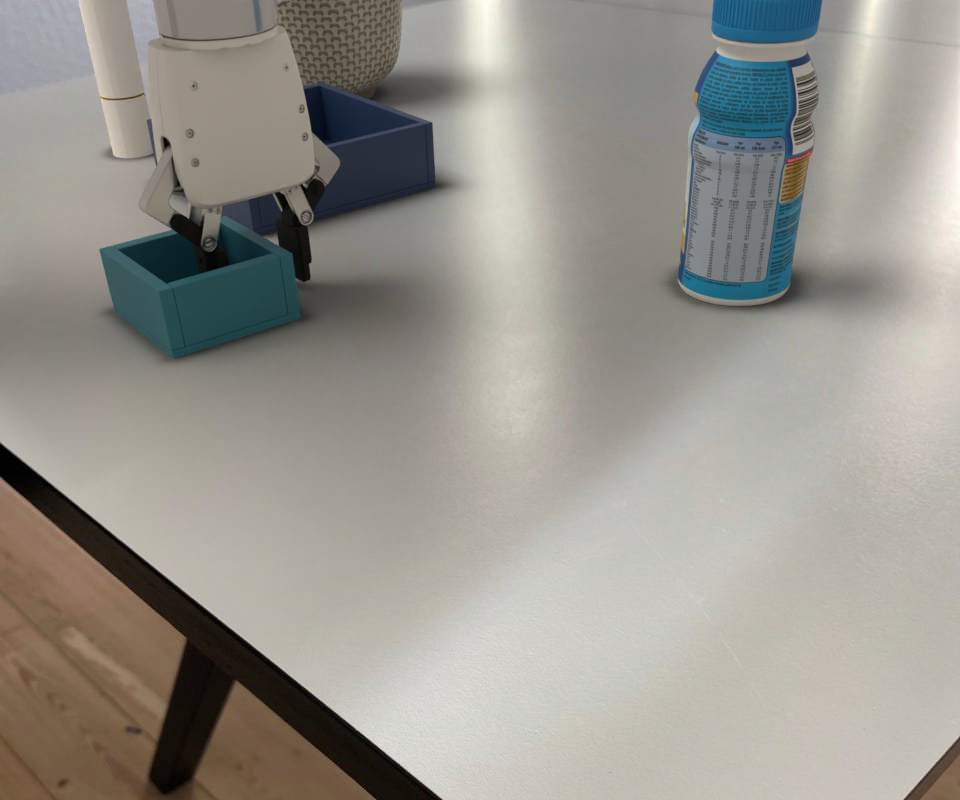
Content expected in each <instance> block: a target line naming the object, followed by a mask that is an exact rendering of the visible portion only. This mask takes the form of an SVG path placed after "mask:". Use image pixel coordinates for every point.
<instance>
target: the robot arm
mask: <svg viewBox="0 0 960 800" xmlns="http://www.w3.org/2000/svg"><path fill="white" fill-rule="evenodd" d="M289 1H290V0H152V5H153V9H154V14H155V20H156V25H157V31H158V36H159V38H154V39H151V40H148V42H147V83H148V84H147V85H148V98H149V112H150V119H151V120H152V129H153V137H154V144H155V151H156V157H157V163H158V164H157V166H156V165H155V169H154V170H153V172H152V174H151V176H150V178H149V180H148V182H147V184H146V186H145V188H144V190H143V192H142V193H141V196H140V197H139V200H138V209H139V210H140V211H141V212H143V213H145V214H146V215H148V216H149V217H151V218H153V219H154V220H156V221H157V222H158V223H159V222H160V224H163V225H164V226H166V227H168V228H169V229H170V230H174V231H175V232H177V233H178V234H180V235H181V236H183V237H184V238H185V239H187V240H188V241H190V242H191V243H193V245H194V250H195V255H196V260H197V265H198V270H199V274H201V273H205V272H209V271H212V270H216V269H219V268H223V267H226V266H229V261H228V255H227V252H226V250H225V249H223V248H222V247H220V246H219V242H218V237H219V230H220V222H221V215H222V207H223V206H225V205H229V204H233V203H237V202H241V201H245V200H249V199H253V198H256V197H260V196H264V195H268V194H273V196H274V198H275V200H276V202H277V204H278V206H279V208H280V210H281V217H277V222H276V229H277V231H276V235H277V242H278V246H280V247H282V248H283V249H285V250H287V251H289V252H291V253H292V256H293V263H294V270H295V278H296V280H298V281H300V282H302V283H305V282H308V281H311V278H312V276H311V268H310V264H312V261H313V257H312V249H311V242H310V241H311V240H310V235H309V225H311V224H312V223H313V222H314V221H313V218H314V215H313V211H314V209H315V208H316V206H317V204H318V203H319V201H320V199H321V197H322V196H323V194H324V192H325V186H326V184H327V185H328V183H329V182H330V180H331V179H332V177H333V176H334V174H335V173H336V171H337V170H338V168H339V166H340V159H339V158H338V157H337V156H336V155H335V154H334V153H333V152H332V151H331V150H330V149H329V148H328V147H327V146H326V145H325V144H324V143H323V142H322V141H321V140H320V139H319V138H318V137H316V136H315V135H314V134H313V133H312V132H311V126H310V119H309V114H308V109H307V104H306V99H305V94H304V90H303V85H302V81H301V77H300V74H299V70H298V66H297V62H296V59H295V56H294V53H293V49H292V46H291V43H290V40H289V37H288V35H287V32H286V29H285V28H284V27H282V26H279V25H277V19H279V16H278V8H277V7H279V6H280V5H281V4H282V3H288V2H289ZM172 195H174V196H182V195H186V198H185V199H186V200H187V205H186V215H184V214H183V213H181V212H179V211H177V209H175V208H173V207H172V206H171V204H170V198H171V196H172Z"/></svg>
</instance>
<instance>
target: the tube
mask: <svg viewBox="0 0 960 800" xmlns="http://www.w3.org/2000/svg"><path fill="white" fill-rule="evenodd" d="M77 2H78V7H79V11H80V15H81V19H82V24H83V27H84V32H85V37H86V42H87V45H88V50H89V55H90V59H91V65H92V67H93V72H94V76H95V81H96V85H97V89H98V94H99V97H100V102H101V103H100V104H101V107H102V111H103V115H104V119H105V124H106V129H107V133H108V137H109V142H110V147H111V150H112V155H113V157H116V158H119V159H138V158H139V159H140V158H143V157H148V156H151V155H154V154H153V149H152V144H151V139H150V134H149V129H148V125H147V120H148V119H151V113H150V108H149V104H148V100H147V94H146V91H145V85H144V80H143V75H142V71H141V65H140V61H139V60H140V59H139V56H138V55H139V54H138V51H137V45H136V40H135V36H134V31H133V26H132V22H131V17H130V12H129V7H128V2H127V0H77Z"/></svg>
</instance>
